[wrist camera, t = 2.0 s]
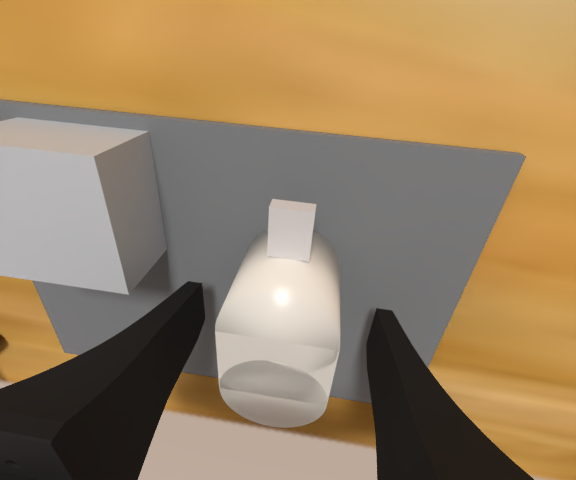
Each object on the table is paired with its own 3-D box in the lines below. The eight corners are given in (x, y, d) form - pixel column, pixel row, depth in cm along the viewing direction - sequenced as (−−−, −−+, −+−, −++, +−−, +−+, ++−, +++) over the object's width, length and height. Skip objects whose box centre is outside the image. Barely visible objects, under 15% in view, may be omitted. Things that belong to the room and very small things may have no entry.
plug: (320, 372, 17) (315, 455, 13) (245, 360, 17) (222, 438, 14) (355, 188, 11) (362, 248, 8) (245, 175, 12) (207, 229, 8)
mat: (69, 347, 19) (64, 352, 19) (-40, 95, 12) (-50, 96, 12) (406, 402, 18) (407, 409, 17) (520, 153, 10) (526, 156, 10)
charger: (59, 234, 14) (-1, 275, 12) (18, 117, 12) (-71, 137, 9) (166, 249, 14) (128, 294, 11) (148, 131, 11) (93, 156, 9)
